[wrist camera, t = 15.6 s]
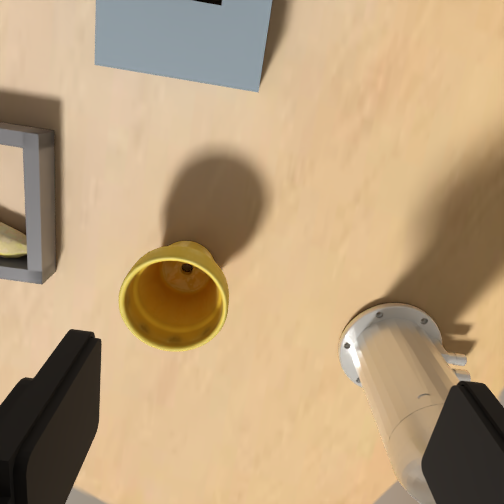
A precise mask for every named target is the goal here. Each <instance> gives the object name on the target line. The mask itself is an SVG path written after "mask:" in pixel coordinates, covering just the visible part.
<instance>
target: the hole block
mask: <svg viewBox="0 0 504 504" xmlns="http://www.w3.org/2000/svg"><path fill="white" fill-rule="evenodd" d="M271 6H272V0H222V5H215V4H210V3H204V2H199V1H193V0H96V26H95V65H100V66H105V67H111V68H117V69H123V70H129V71H135V72H141V73H147V74H153V75H159V76H165V77H171V78H177V79H183V80H189V81H194V82H200V83H206V84H212V85H218V86H224V87H230V88H236V89H242V90H248V91H254V92H258V91H259V85H260V78H261V72H262V65H263V59H264V52H265V45H266V39H267V32H268V26H269V19H270V13H271Z"/></svg>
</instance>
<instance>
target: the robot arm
mask: <svg viewBox="0 0 504 504" xmlns="http://www.w3.org/2000/svg"><path fill="white" fill-rule="evenodd" d="M338 354H339V360H340V363H341V366H342V368H343V370H344V372H345V374H346V375H347V376H348V378H349V379H350V380H351V381H352V382H354V383H355V384H356V385H358V386H360V387H362V388H363V390H364V392H365V395H366V398H367V401H368V403H369V406H370V409H371V412H372V414H373V417H374V420H375V422H376V425H377V428H378V431H379V433H380V436H381V439H382V441H383V444H384V447H385V450H386V452H387V455H388V458H389V461H390V463H391V466H392V469H393V471H394V473H395V475H396V477H397V479H398V481H399V482H400V484H401V485H402V486H403V487H404V489H405V490H406V491H407V492H408V493H409V494H410V495H411V496H412V497H413V498H414V499H416V500H417V501H418V502H419V503H421V504H504V408H503V406H502V405H501V404H500V402H499V401H498V400H497V399H496V397H495V396H494V395H493V394H492V392H491V391H490V390H489V388H488V387H487V386H486V385H485V384H483V383H477V382H470V379H471V378H470V374H469V372H468V371H467V370H460V369H451V368H450V367H449V365H448V364H447V363H449V364H453V365H460V366H465V364H466V362H467V358H466V356H465V355H464V354H459V353H448V352H447V351H446V350H445V349H444V347H443V346H442V337H441V333H440V330H439V328H438V327H437V325H436V323H435V322H434V321H433V319H432V318H431V317H430V316H429V315H428V314H427V313H426V312H424V311H423V310H421V309H419V308H417V307H415V306H412V305H409V304H403V303H386V304H381V305H377V306H374V307H372V308H369V309H367V310H365V311H364V312H362V313H360V314H359V315H358V316H356V317H355V318H354V319H353V320H352V321H351V322H350V323H349V324H348V325H347V327H346V328H345V330H344V332H343V333H342V335H341V338H340V341H339V347H338ZM100 372H101V339H98V338H95V335H94V333H93V332H89V331H81V330H74V329H71V330H69V331H68V332H67V334H66V335H65V337H64V338H63V339H62V341H61V342H60V343H59V345H58V346H57V347H56V349H55V350H54V351H53V353H52V354H51V356H50V357H49V358H48V360H47V361H46V362H45V364H44V365H43V366H42V368H41V369H40V370H39V372H38V373H37V375H36V376H35V377H34V378H26V377H25V378H23V379H21V380H20V381H19V382H18V383H17V385H16V386H15V387H14V388H13V390H12V391H11V392H10V394H9V395H8V396H7V397H6V399H5V400H4V401H3V403H2V404H1V405H0V504H65V502H66V500H67V498H68V496H69V494H70V491H71V489H72V487H73V484H74V482H75V480H76V478H77V475H78V473H79V471H80V469H81V466H82V464H83V462H84V460H85V457H86V455H87V453H88V451H89V448H90V446H91V444H92V441H93V439H94V437H95V435H96V432H97V428H98V423H99V403H100Z"/></svg>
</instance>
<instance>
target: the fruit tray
mask: <svg viewBox="0 0 504 504" xmlns="http://www.w3.org/2000/svg"><path fill="white" fill-rule="evenodd" d="M0 144H2V145H8V146H14V147H21V148H23V163H24V188H25V213H26V238H27V255H24V256H22V257H19V258H4V257H1V256H0V279H7V280H14V281H21V282H29V283H36V284H43V283H44V282H45V281H46V280H47V279H48V278H49V277H50V276H52V275H53V274H54V273H55V272H56V232H55V155H54V131H53V130H47V129H41V128H35V127H28V126H22V125H16V124H9V123H3V122H0Z"/></svg>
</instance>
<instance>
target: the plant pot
mask: <svg viewBox="0 0 504 504" xmlns="http://www.w3.org/2000/svg"><path fill="white" fill-rule="evenodd" d="M184 264H190V265H191V266H192V267H193V270H192V271H191V272H185V271H183V270H182V265H184ZM228 304H229V291H228V284H227V281H226V278H225V276H224V274H223V272H222V270H221V269H220V267H219V266H218V265H217V264H216V263H215V261H214V259H213V257H212V255H211V253H210V252H209V251H208V250H207V249H206V248H205V247H204V246H202V245H200V244H198V243H196V242H193V241H179V242H175V243H173V244H171V245H169V246H164V247H160V248H157V249H154V250H152V251H150V252H148V253H147V254H145V255H144V256H143V257H141V258H140V259H139V260H138V261H137V262H136V264H135V265H134V266H133V267H132V269H131V270H130V271H129V273H128V274H127V276H126V278H125V279H124V281H123V283H122V286H121V289H120V292H119V309H120V313H121V316H122V319H123V321H124V322H125V324H126V326H127V327H128V329H129V330H130V331H131V332H132V333H133V334H134V335H135V336H136V337H137V338H138V339H140V340H141V341H142V342H144V343H146V344H147V345H149V346H152V347H154V348H157V349H160V350H165V351H186V350H191V349H195V348H197V347H200V346H202V345H204V344H206V343H207V342H209V341H210V340H211V339H213V338H214V337H215V336H216V335H217V334H218V332H219V331H220V330H221V328H222V327H223V325H224V323H225V320H226V317H227V313H228Z"/></svg>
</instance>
